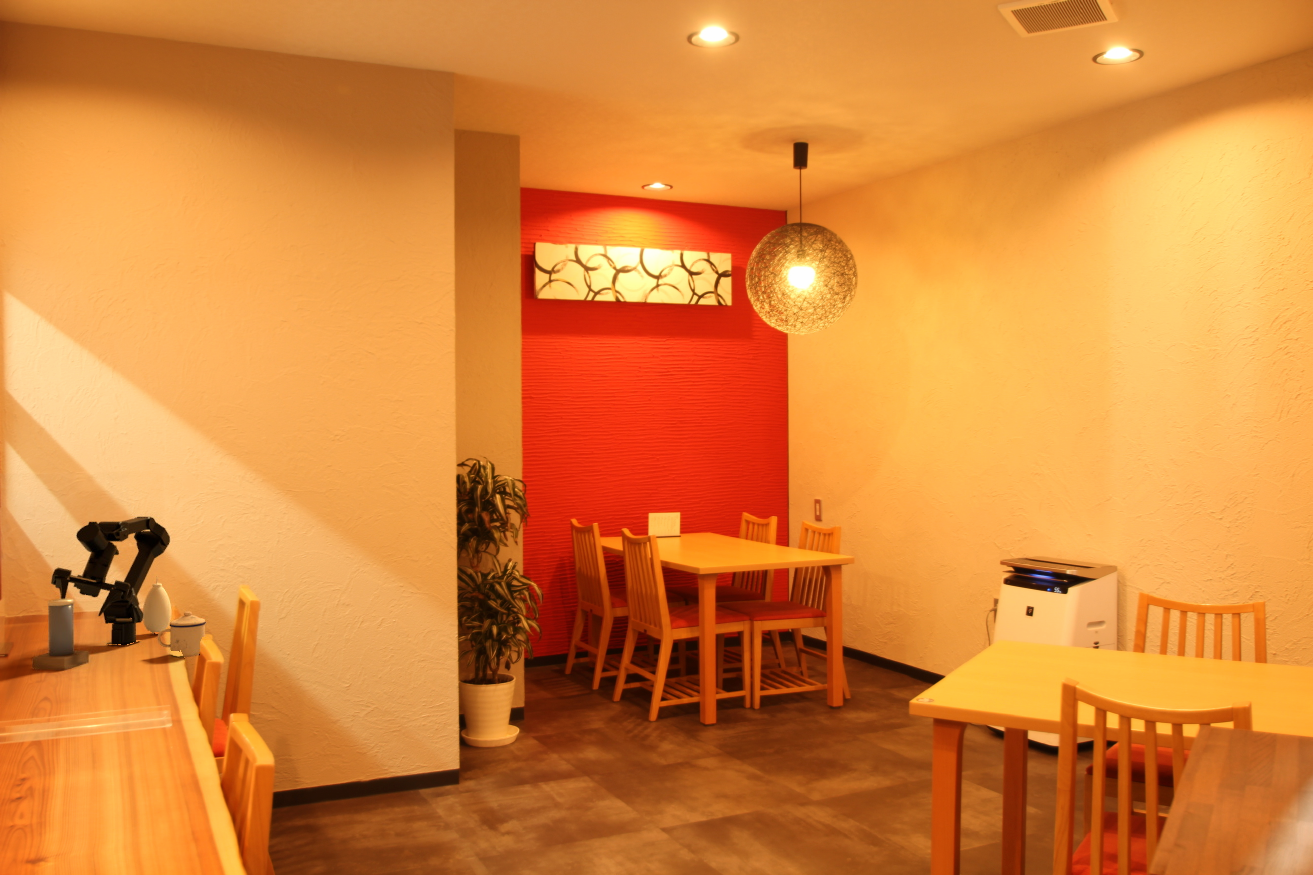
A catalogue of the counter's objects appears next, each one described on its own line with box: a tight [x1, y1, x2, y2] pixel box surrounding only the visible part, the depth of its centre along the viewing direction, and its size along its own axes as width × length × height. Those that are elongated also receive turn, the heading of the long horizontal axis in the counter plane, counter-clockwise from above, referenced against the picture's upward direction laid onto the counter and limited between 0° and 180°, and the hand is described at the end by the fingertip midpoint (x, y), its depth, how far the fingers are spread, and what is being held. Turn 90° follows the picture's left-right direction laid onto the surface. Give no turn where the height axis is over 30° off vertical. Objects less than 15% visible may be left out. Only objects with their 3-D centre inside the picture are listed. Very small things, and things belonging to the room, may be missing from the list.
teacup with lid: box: [157, 611, 207, 658], centre depth 273 cm, size 12×9×12 cm
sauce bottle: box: [142, 574, 172, 634], centre depth 301 cm, size 8×8×18 cm
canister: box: [47, 598, 75, 656], centre depth 259 cm, size 6×6×14 cm
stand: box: [31, 650, 90, 671], centre depth 259 cm, size 9×9×3 cm
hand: (80, 611), depth 264 cm, fingers open, 9 cm apart
